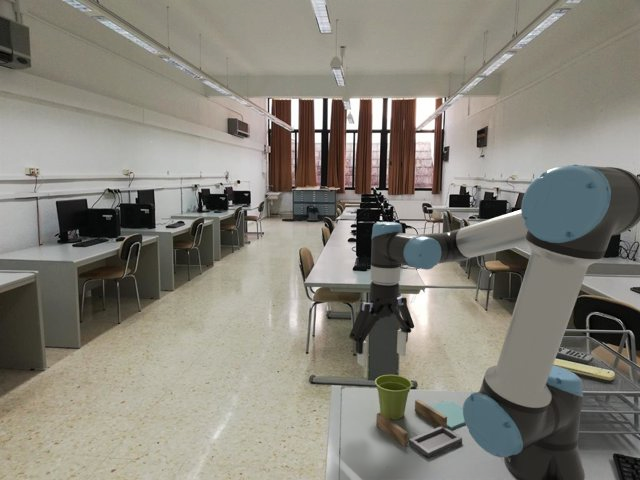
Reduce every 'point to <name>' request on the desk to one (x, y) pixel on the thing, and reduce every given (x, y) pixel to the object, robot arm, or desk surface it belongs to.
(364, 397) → the desk surface
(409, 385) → the plant pot
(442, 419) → the channel
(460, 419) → the pad
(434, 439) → the tray
